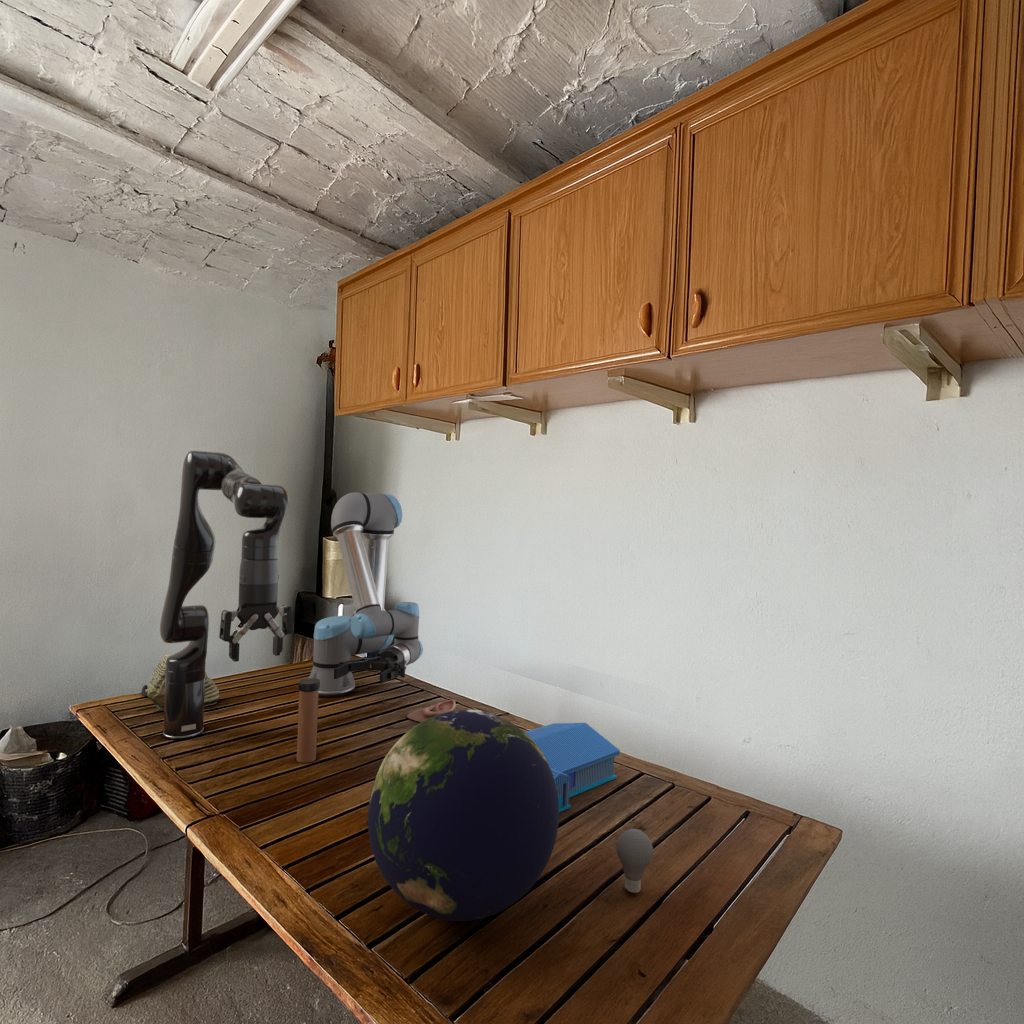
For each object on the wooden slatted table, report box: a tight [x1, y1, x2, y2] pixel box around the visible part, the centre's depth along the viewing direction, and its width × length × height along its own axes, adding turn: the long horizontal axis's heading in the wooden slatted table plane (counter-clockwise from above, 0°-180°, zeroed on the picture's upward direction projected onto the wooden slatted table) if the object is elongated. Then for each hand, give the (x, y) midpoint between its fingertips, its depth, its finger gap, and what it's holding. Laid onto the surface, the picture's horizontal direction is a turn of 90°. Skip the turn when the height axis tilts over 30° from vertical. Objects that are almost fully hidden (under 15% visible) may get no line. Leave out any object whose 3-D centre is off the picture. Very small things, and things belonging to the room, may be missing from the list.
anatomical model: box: [406, 699, 457, 723], centre depth 185 cm, size 13×4×12 cm
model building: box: [524, 722, 621, 813], centre depth 143 cm, size 39×24×10 cm, turn 132°
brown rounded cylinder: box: [296, 689, 319, 764], centre depth 152 cm, size 4×4×18 cm
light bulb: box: [615, 828, 654, 894], centre depth 106 cm, size 6×6×10 cm
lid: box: [297, 677, 320, 691], centre depth 152 cm, size 5×5×2 cm
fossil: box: [147, 654, 221, 712], centre depth 185 cm, size 9×18×15 cm, turn 132°
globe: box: [367, 709, 560, 922], centre depth 100 cm, size 30×30×30 cm
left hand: (256, 657), depth 132 cm, fingers open, 8 cm apart
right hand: (357, 676), depth 170 cm, fingers open, 13 cm apart
